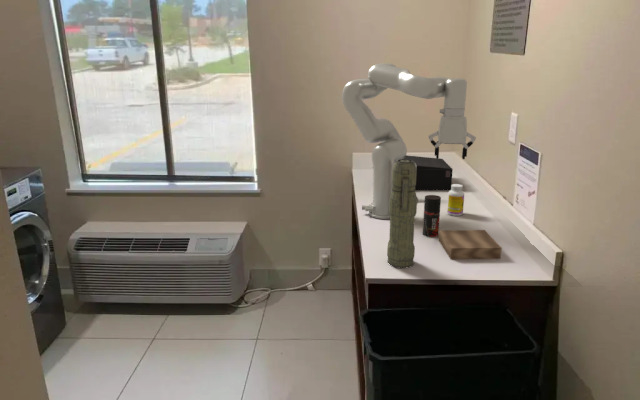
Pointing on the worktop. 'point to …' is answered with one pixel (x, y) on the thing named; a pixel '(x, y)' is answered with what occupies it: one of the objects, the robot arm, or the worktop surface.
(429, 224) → the deodorant
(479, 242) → the walnut stand
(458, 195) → the supplement bottle
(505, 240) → the worktop surface
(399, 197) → the thermos
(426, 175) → the headphone box
